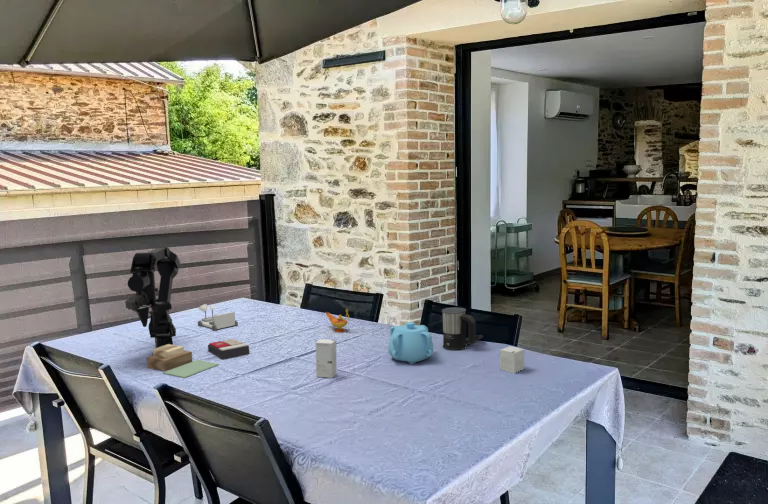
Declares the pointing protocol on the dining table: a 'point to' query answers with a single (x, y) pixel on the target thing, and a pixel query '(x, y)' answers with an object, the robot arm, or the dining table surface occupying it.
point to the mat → (190, 368)
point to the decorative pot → (410, 343)
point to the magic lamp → (338, 321)
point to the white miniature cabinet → (326, 358)
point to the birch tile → (168, 351)
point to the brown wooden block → (169, 361)
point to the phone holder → (217, 319)
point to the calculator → (228, 349)
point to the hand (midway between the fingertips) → (150, 327)
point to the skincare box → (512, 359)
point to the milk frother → (458, 329)
